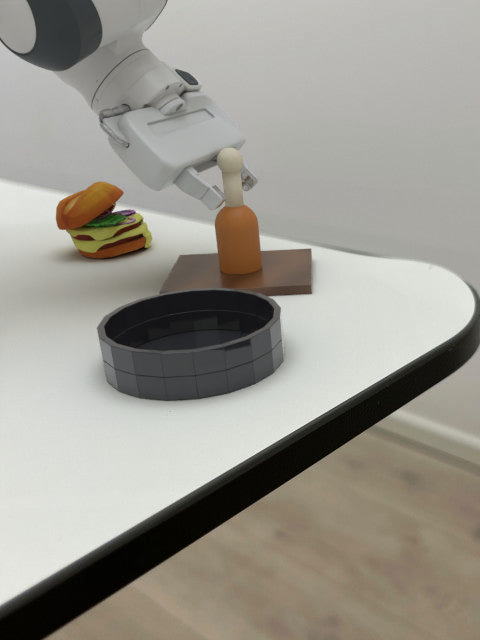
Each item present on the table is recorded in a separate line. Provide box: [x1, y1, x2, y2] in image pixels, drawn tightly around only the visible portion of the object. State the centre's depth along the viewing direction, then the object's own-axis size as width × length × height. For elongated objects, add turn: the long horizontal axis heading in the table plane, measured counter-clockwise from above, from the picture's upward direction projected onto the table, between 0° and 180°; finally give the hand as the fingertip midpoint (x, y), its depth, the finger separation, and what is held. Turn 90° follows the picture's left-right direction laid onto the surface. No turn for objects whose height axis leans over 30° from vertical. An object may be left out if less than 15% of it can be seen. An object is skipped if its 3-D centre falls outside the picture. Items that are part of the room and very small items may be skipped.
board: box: [158, 247, 313, 297], centre depth 87 cm, size 16×14×2 cm
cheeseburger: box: [55, 181, 153, 260], centre depth 100 cm, size 10×11×10 cm
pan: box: [96, 288, 285, 402], centre depth 66 cm, size 15×15×4 cm
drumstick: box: [214, 148, 262, 275], centre depth 85 cm, size 5×5×13 cm
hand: (237, 195), depth 83 cm, fingers open, 8 cm apart
